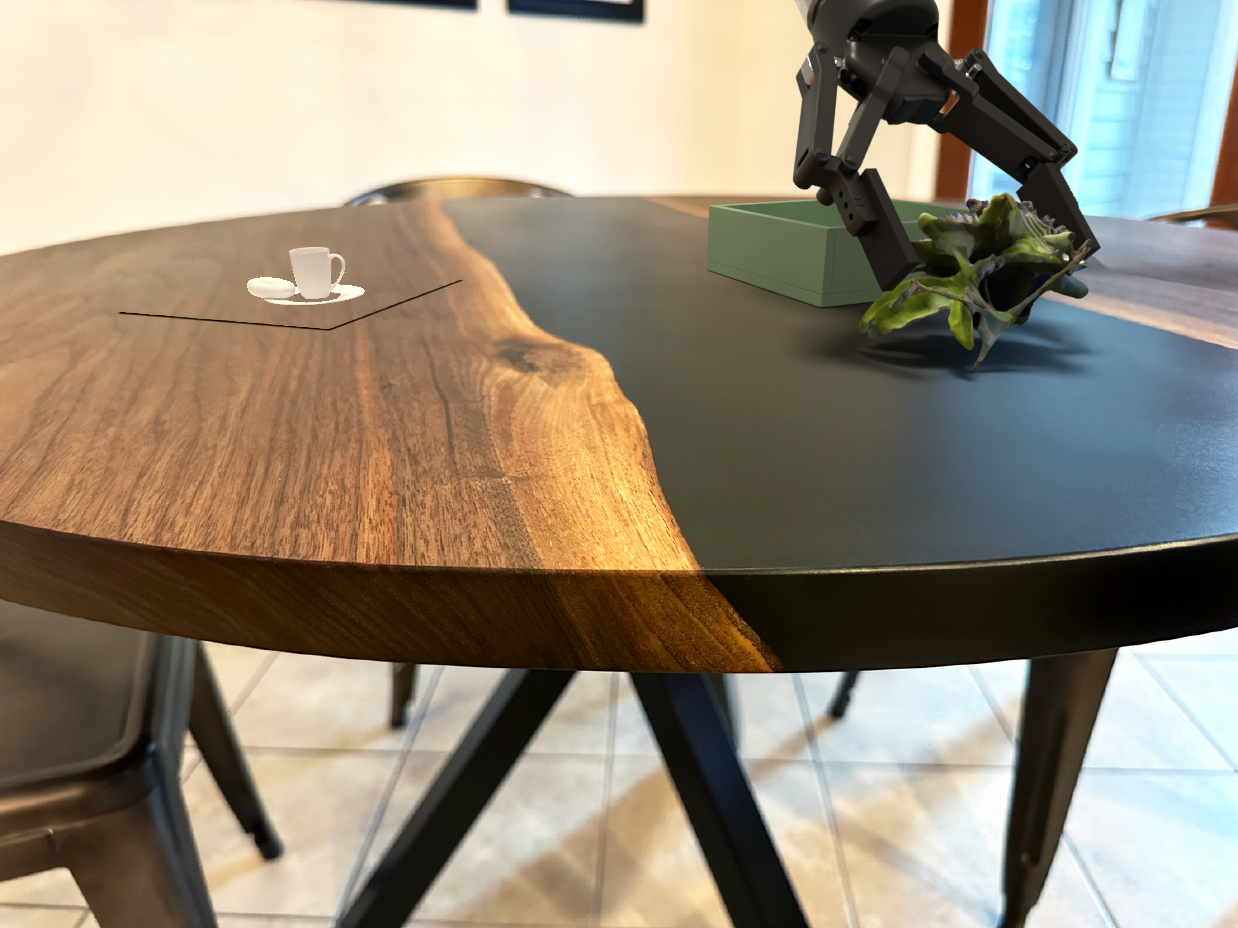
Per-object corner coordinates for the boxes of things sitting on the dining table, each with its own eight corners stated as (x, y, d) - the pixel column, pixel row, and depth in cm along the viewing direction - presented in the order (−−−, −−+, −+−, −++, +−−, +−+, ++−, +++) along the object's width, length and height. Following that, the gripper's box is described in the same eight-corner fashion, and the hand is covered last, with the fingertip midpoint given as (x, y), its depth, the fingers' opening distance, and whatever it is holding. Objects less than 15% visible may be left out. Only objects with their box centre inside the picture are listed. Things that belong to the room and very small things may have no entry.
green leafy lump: (963, 406, 58) (1099, 264, 54) (989, 447, 48) (1159, 277, 43) (835, 306, 58) (959, 156, 54) (834, 326, 48) (987, 143, 44)
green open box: (863, 255, 88) (870, 196, 85) (1002, 287, 72) (1014, 214, 69) (706, 269, 81) (708, 205, 79) (820, 307, 65) (827, 228, 63)
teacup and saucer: (235, 306, 68) (225, 255, 66) (299, 288, 75) (291, 241, 73) (326, 313, 65) (318, 260, 63) (384, 293, 72) (378, 245, 70)
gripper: (972, 56, 64) (1098, 289, 57) (676, 47, 55) (784, 323, 48) (1043, -34, 57) (1195, 218, 50) (719, -60, 48) (851, 241, 41)
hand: (995, 270), depth 49 cm, fingers closed on green leafy lump, 13 cm apart
